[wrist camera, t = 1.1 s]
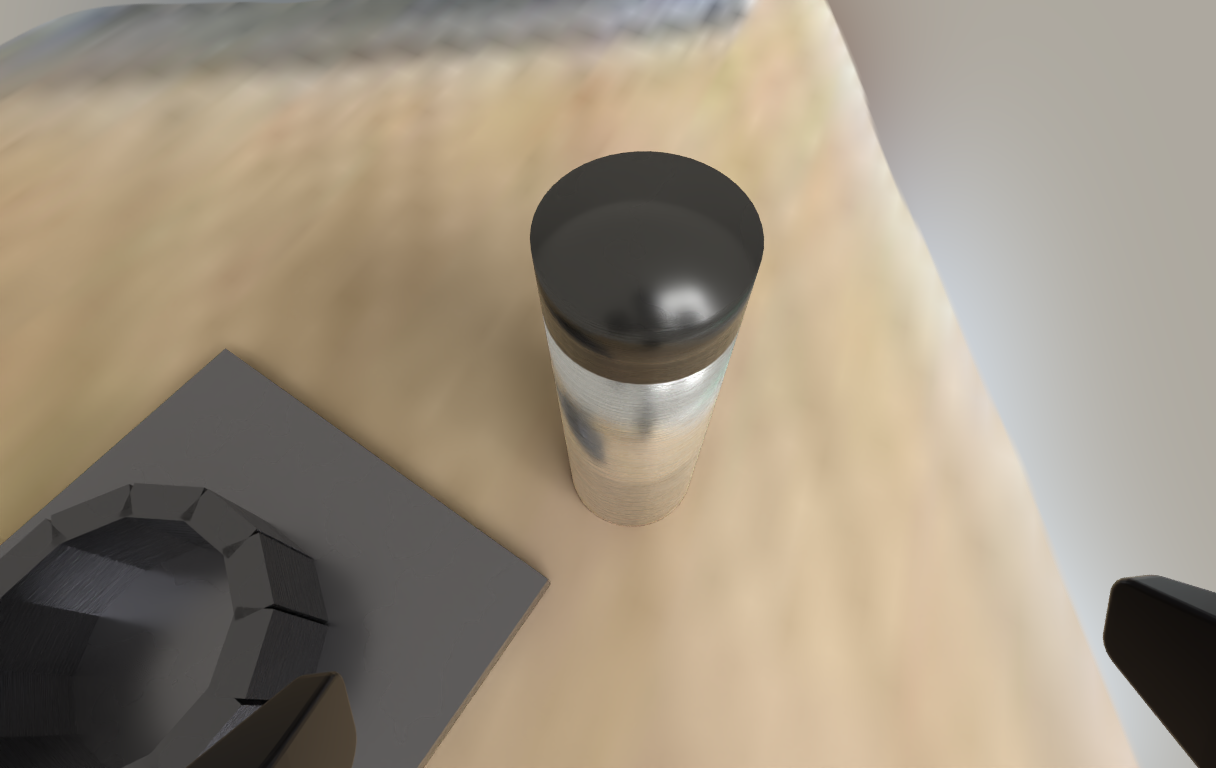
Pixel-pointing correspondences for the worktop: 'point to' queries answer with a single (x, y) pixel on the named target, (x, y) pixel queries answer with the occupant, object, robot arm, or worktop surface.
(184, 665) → the firebox collar
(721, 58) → the worktop surface
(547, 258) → the black capped shaker
